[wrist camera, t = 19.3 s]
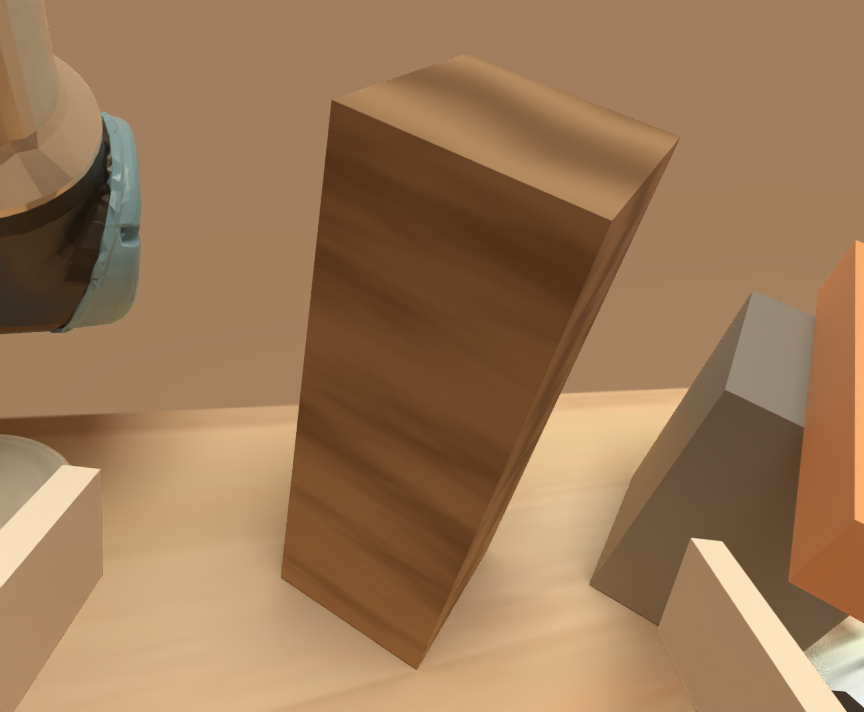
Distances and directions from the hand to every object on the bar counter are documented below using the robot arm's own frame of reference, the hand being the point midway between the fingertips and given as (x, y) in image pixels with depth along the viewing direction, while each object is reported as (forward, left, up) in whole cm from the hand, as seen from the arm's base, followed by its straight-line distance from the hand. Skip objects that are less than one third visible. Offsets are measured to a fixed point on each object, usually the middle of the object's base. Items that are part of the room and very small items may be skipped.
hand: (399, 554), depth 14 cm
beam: (+2, +28, -6) cm, 29 cm away
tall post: (-11, +12, -25) cm, 30 cm away
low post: (0, +31, -25) cm, 40 cm away
